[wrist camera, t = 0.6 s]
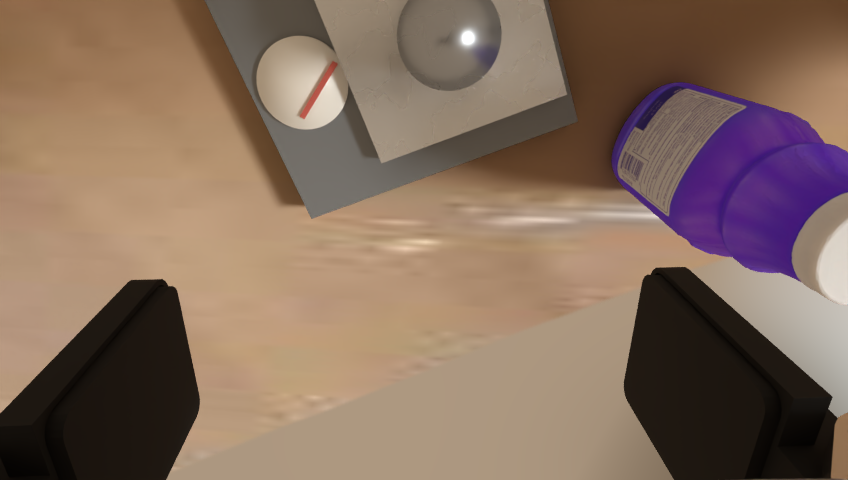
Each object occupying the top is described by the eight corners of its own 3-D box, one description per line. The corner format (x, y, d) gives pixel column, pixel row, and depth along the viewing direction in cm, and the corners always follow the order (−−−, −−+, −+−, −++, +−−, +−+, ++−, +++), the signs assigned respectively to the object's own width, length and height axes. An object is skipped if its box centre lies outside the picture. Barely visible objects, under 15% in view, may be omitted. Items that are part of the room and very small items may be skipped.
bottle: (659, 204, 36) (865, 363, 20) (588, 170, 35) (747, 309, 19) (726, 105, 33) (1025, 195, 17) (652, 64, 32) (899, 120, 16)
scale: (496, -163, 27) (506, -180, 25) (567, 114, 33) (580, 123, 31) (200, -35, 29) (182, -39, 27) (316, 206, 35) (310, 221, 32)
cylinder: (466, -30, 27) (483, -39, 21) (492, 57, 28) (514, 69, 23) (385, 3, 27) (380, 2, 22) (415, 86, 29) (418, 105, 23)
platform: (507, -126, 26) (510, -130, 25) (562, 91, 30) (566, 94, 29) (301, -39, 27) (297, -40, 26) (382, 158, 31) (381, 163, 31)
